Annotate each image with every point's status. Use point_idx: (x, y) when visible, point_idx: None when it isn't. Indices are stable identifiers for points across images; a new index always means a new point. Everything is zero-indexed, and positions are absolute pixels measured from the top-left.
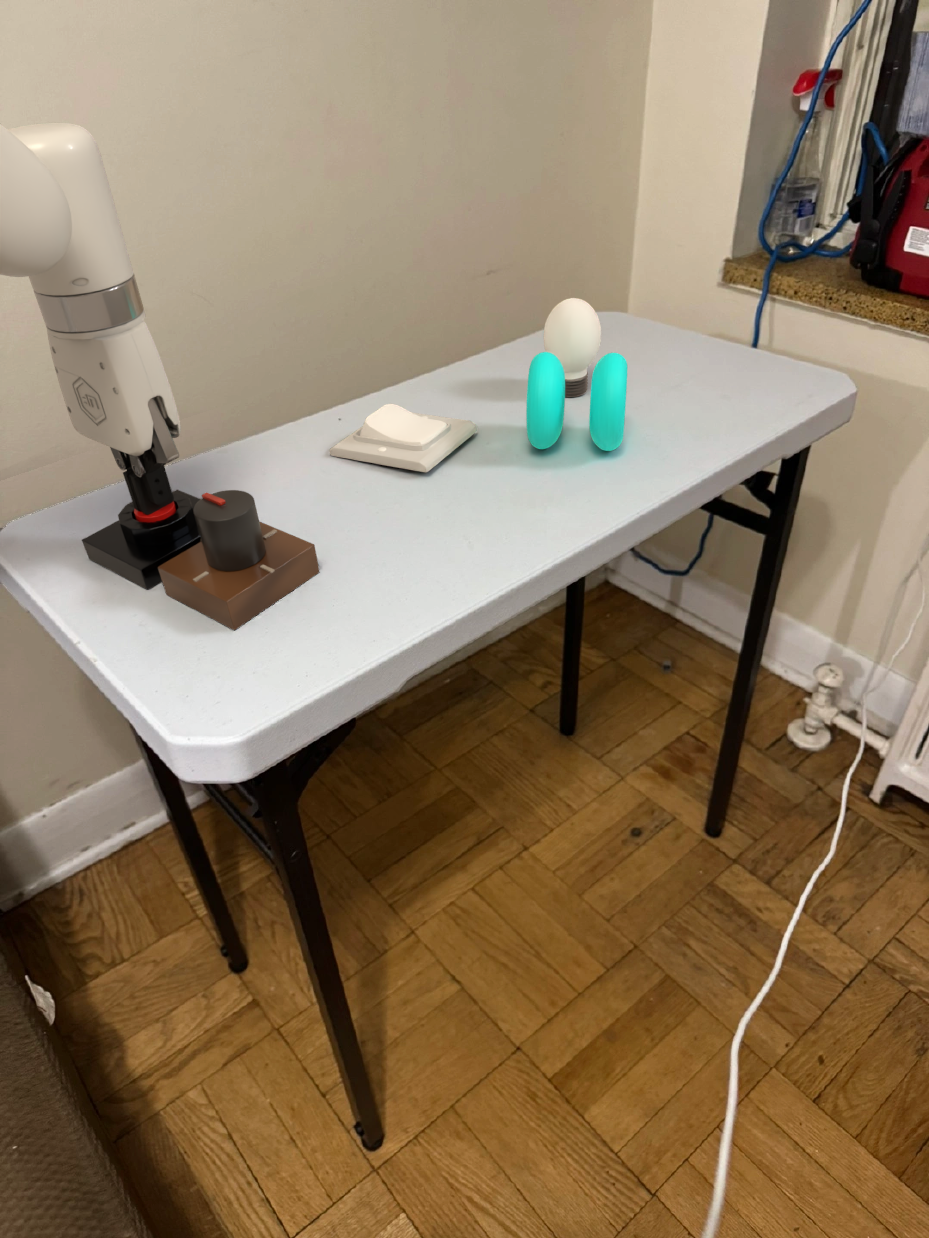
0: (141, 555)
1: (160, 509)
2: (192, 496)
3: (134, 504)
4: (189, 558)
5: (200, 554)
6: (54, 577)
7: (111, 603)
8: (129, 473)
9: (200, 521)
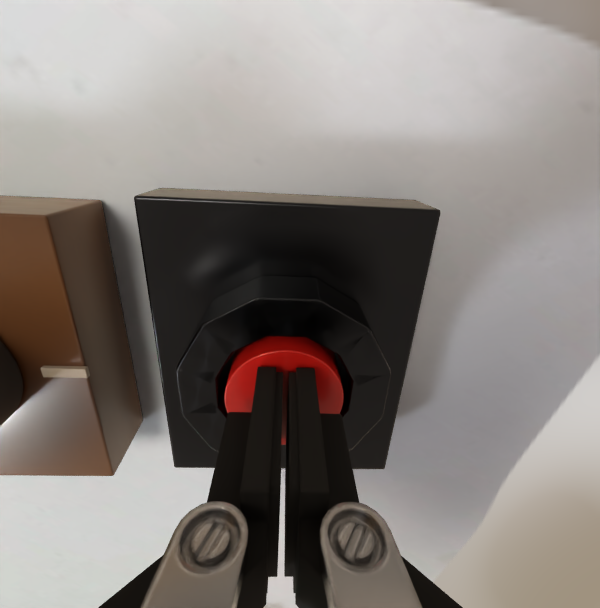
0: (202, 248)
1: None
2: None
3: (308, 380)
4: (20, 296)
5: (18, 324)
6: (442, 84)
7: (186, 88)
8: (299, 499)
9: None
